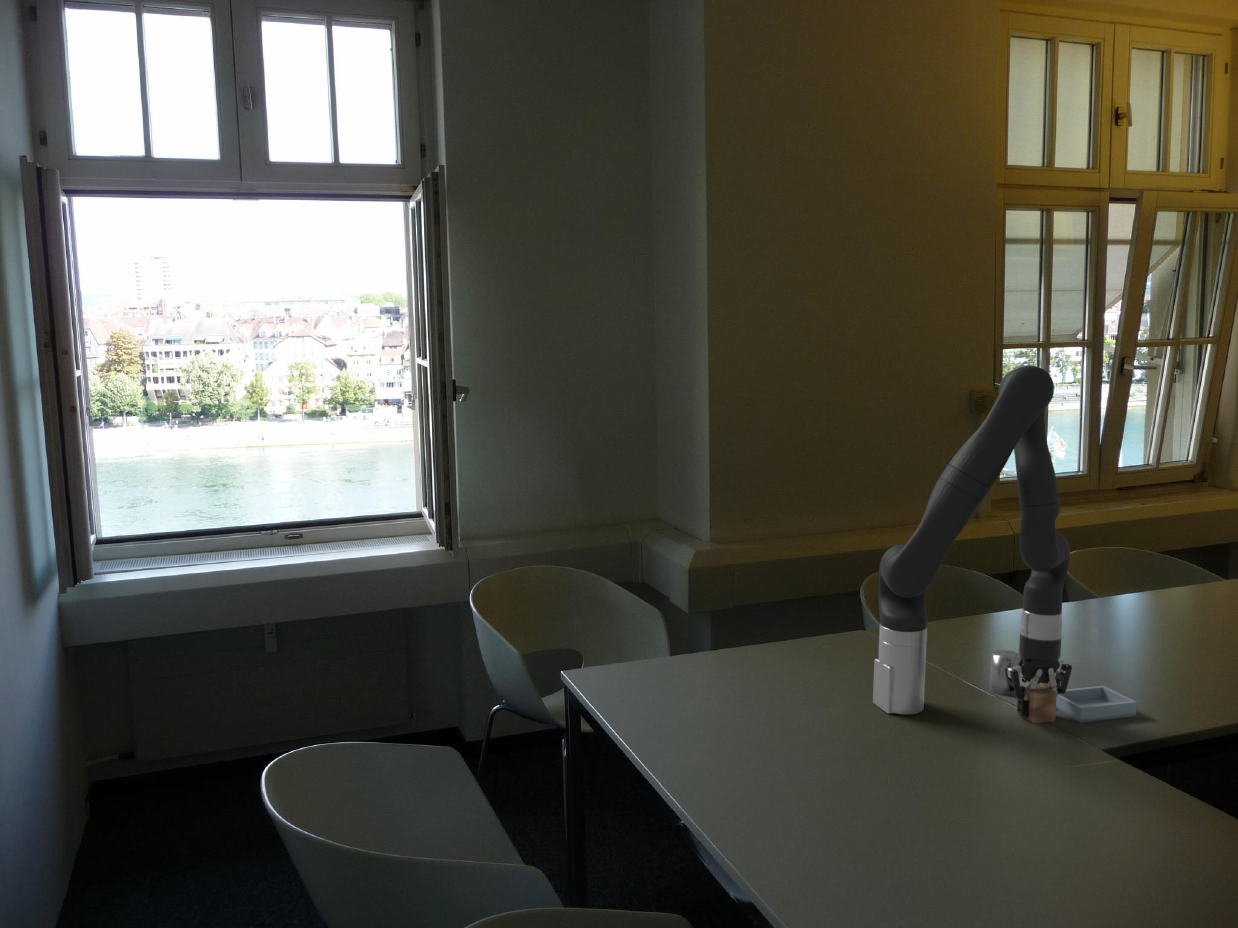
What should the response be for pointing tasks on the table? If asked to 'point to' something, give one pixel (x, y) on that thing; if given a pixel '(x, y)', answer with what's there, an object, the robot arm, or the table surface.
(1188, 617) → the table surface
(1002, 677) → the grey can
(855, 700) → the table surface
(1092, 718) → the slate tray
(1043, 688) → the walnut block
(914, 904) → the table surface
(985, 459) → the robot arm
